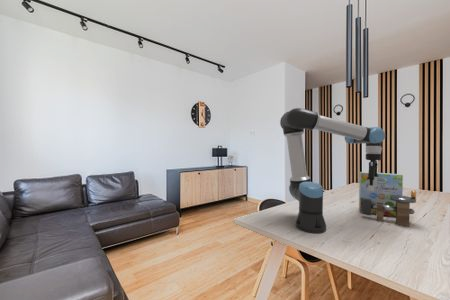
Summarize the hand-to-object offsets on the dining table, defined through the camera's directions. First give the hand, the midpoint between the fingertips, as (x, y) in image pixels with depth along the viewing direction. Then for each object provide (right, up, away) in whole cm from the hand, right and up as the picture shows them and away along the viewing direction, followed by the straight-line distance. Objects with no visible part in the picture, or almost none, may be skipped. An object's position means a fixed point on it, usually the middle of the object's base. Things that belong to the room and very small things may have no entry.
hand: (372, 189), depth 121 cm
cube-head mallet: (+6, -16, -3) cm, 17 cm away
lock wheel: (+11, -5, -7) cm, 14 cm away
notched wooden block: (+8, -18, -4) cm, 20 cm away
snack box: (+10, -17, +8) cm, 22 cm away
